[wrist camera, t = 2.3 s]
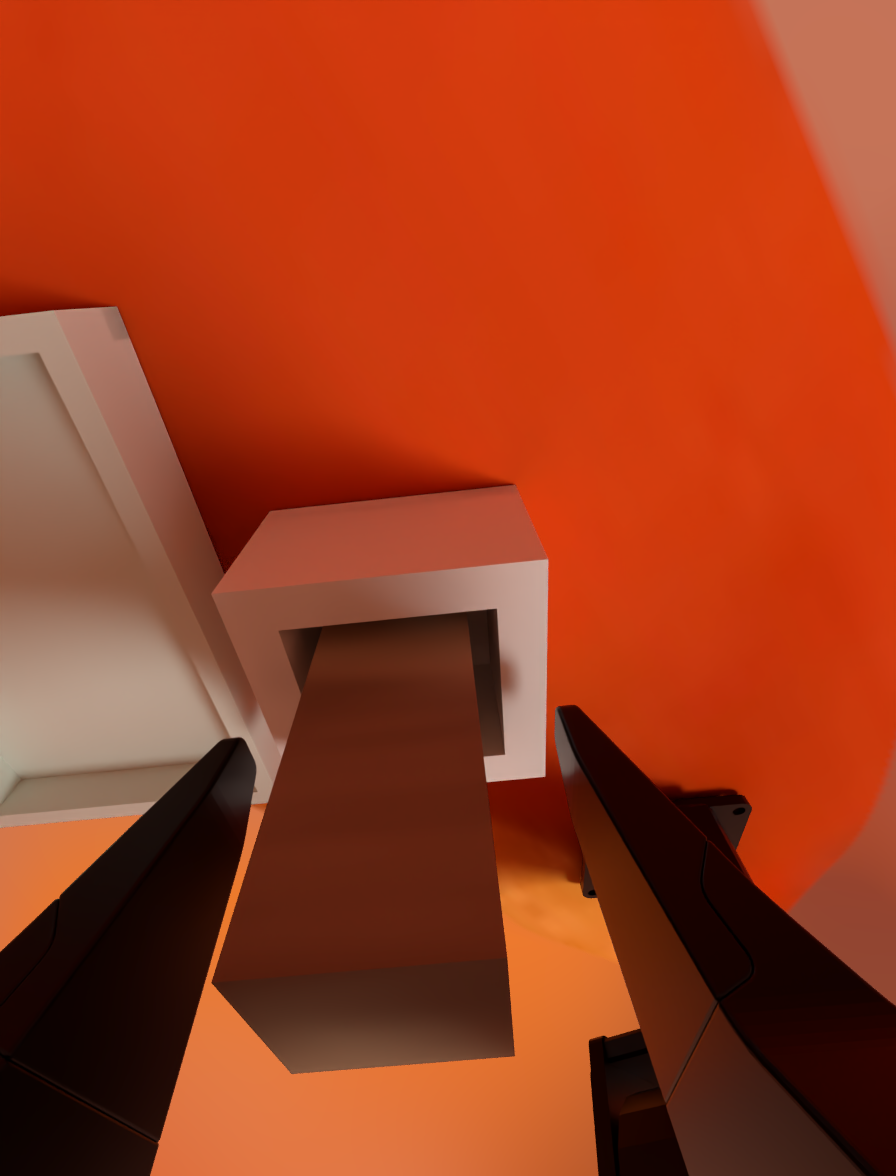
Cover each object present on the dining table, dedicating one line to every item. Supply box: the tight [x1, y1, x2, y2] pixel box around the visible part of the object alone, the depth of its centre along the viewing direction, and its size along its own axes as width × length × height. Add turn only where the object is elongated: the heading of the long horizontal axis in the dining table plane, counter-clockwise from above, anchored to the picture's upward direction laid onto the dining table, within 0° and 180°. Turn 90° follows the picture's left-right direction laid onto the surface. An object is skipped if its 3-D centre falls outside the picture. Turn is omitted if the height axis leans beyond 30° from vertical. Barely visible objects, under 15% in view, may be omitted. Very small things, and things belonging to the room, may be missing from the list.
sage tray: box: [0, 307, 281, 828], centre depth 13 cm, size 14×10×2 cm
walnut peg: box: [212, 612, 515, 1074], centre depth 10 cm, size 3×3×9 cm
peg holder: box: [211, 485, 548, 782], centre depth 12 cm, size 6×6×4 cm
